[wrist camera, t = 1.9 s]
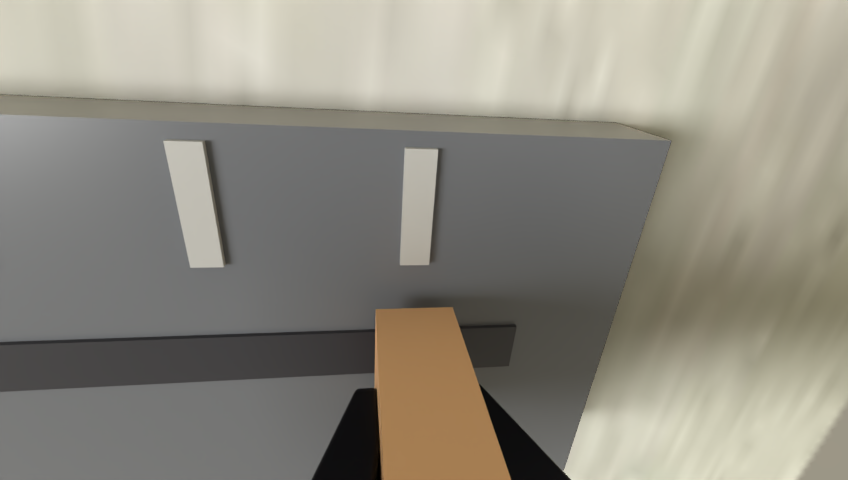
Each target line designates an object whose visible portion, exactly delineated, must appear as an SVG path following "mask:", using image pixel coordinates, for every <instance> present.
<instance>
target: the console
mask: <svg viewBox="0 0 848 480" xmlns="http://www.w3.org/2000/svg"><path fill="white" fill-rule="evenodd" d="M670 144H671V140H668V139H665V138H662V137H659V136H655V135H652V134H649V133H646V132H643V131H640V130H637V129H634V128H631V127H628V126H624V125H621V124H618V123H614V122H592V121H570V120H548V119H526V118H504V117H482V116H460V115H438V114H416V113H394V112H372V111H350V110H328V109H306V108H284V107H262V106H240V105H218V104H196V103H174V102H152V101H131V100H109V99H87V98H65V97H43V96H21V95H0V480H311V479H312V477H313V475H314V473H315V471H316V469H317V467H318V465H319V463H320V461H321V459H322V457H323V455H324V453H325V451H326V449H327V447H328V445H329V443H330V441H331V439H332V436H333V434H334V432H335V430H336V428H337V426H338V424H339V422H340V420H341V418H342V416H343V414H344V412H345V410H346V408H347V406H348V404H349V402H350V400H351V398H352V396H353V394H354V392H355V391H356V390H357V389H360V388H374V383H375V316H376V309H401V308H438V307H453V310H454V313H455V316H456V319H457V322H458V325H459V327H460V330H461V333H462V336H463V339H464V342H465V345H466V348H467V351H468V354H469V357H470V360H471V363H472V366H473V369H474V372H475V375H476V378H477V381H478V383H479V384H480V385H481V386H482V387H483V388H484V389H485V390H486V391H487V392H488V393H489V394H490V395H491V396H492V397H493V398H494V399H495V400H496V401H497V402H498V403H499V405H500V406H501V407H502V408H503V409H504V410H505V411H506V412H507V413H508V414H509V415H510V416H511V417H512V418H513V419H514V420H515V421H516V422H517V423H518V425H519V426H520V427H521V428H522V429H523V430H524V431H525V432H526V433H527V434H528V435H529V436H530V437H531V438H532V439H533V440H534V441H535V442H536V443H537V445H538V446H539V447H540V448H541V449H542V450H543V451H544V452H545V453H546V454H547V455H548V456H549V457H550V458H551V459H552V460H553V461H554V462H555V464H556V465H557V466H558V467H559V468H560V469H561V470H564V468H565V465H566V462H567V459H568V456H569V453H570V450H571V447H572V443H573V440H574V437H575V434H576V431H577V428H578V425H579V422H580V419H581V416H582V413H583V410H584V407H585V404H586V401H587V398H588V395H589V391H590V388H591V385H592V382H593V379H594V376H595V373H596V370H597V367H598V364H599V361H600V358H601V355H602V352H603V349H604V346H605V343H606V339H607V336H608V333H609V330H610V327H611V324H612V321H613V318H614V315H615V312H616V309H617V306H618V303H619V300H620V297H621V294H622V291H623V288H624V284H625V281H626V278H627V275H628V272H629V269H630V266H631V263H632V260H633V257H634V254H635V251H636V248H637V245H638V242H639V239H640V236H641V232H642V229H643V226H644V223H645V220H646V217H647V214H648V211H649V208H650V205H651V202H652V199H653V196H654V193H655V190H656V187H657V184H658V180H659V177H660V174H661V171H662V168H663V165H664V162H665V159H666V156H667V153H668V150H669V147H670Z"/></svg>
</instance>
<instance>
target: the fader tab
mask: <svg viewBox="0 0 848 480" xmlns="http://www.w3.org/2000/svg"><path fill="white" fill-rule="evenodd" d="M374 388H376V389H377V403H378V421H379V440H380V458H379V480H511V478H510V475H509V472H508V469H507V466H506V463H505V460H504V457H503V454H502V451H501V448H500V445H499V442H498V439H497V437H496V434H495V431H494V428H493V425H492V422H491V419H490V416H489V413H488V410H487V407H486V404H485V401H484V398H483V395H482V392H481V389H480V386H479V383H478V381H477V378H476V375H475V372H474V369H473V366H472V363H471V360H470V357H469V354H468V351H467V348H466V345H465V342H464V339H463V336H462V333H461V330H460V327H459V325H458V322H457V319H456V316H455V313H454V310H453V307H438V308H401V309H376V316H375V383H374Z"/></svg>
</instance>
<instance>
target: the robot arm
mask: <svg viewBox="0 0 848 480" xmlns="http://www.w3.org/2000/svg"><path fill="white" fill-rule="evenodd" d="M479 386H480V389H481V392H482V395H483V398H484V401H485V404H486V407H487V410H488V413H489V416H490V419H491V422H492V425H493V428H494V431H495V434H496V437H497V439H498V442H499V445H500V448H501V451H502V454H503V457H504V460H505V463H506V466H507V469H508V472H509V475H510V478H511V480H571V479H570V478H569V477H568V476H567V475H566V474H565V473H564V472H563V471H562V470H561V469H560V468H559V467H558V466H557V465H556V464H555V462H554V461H553V460H552V459H551V458H550V457H549V456H548V455H547V454H546V453H545V452H544V451H543V450H542V449H541V448H540V447H539V446H538V445H537V443H536V442H535V441H534V440H533V439H532V438H531V437H530V436H529V435H528V434H527V433H526V432H525V431H524V430H523V429H522V428H521V427H520V426H519V425H518V423H517V422H516V421H515V420H514V419H513V418H512V417H511V416H510V415H509V414H508V413H507V412H506V411H505V410H504V409H503V408H502V407H501V406H500V405H499V403H498V402H497V401H496V400H495V399H494V398H493V397H492V396H491V395H490V394H489V393H488V392H487V391H486V390H485V389H484V388H483V387H482V386H481V385H480V384H479ZM379 458H380V440H379V421H378V403H377V389H376V388H360V389H357V390H356V391H355V392H354V394H353V396H352V398H351V400H350V402H349V404H348V406H347V408H346V410H345V412H344V414H343V416H342V418H341V420H340V422H339V424H338V426H337V428H336V430H335V432H334V434H333V436H332V439H331V441H330V443H329V445H328V447H327V449H326V451H325V453H324V455H323V457H322V459H321V461H320V463H319V465H318V467H317V469H316V471H315V473H314V475H313V477H312V479H311V480H379Z"/></svg>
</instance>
